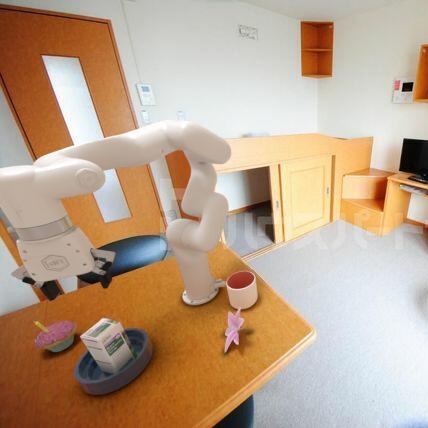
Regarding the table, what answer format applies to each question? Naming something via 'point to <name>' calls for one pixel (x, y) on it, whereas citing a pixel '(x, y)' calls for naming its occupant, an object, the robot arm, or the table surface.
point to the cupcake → (56, 336)
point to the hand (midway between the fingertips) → (82, 290)
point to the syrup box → (109, 345)
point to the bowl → (105, 382)
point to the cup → (242, 289)
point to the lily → (233, 328)
